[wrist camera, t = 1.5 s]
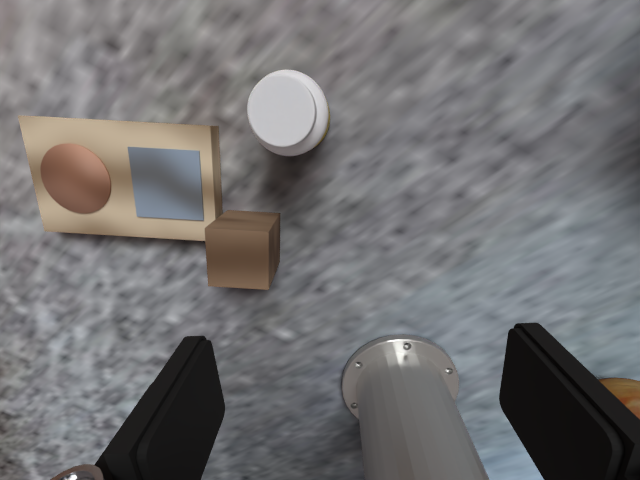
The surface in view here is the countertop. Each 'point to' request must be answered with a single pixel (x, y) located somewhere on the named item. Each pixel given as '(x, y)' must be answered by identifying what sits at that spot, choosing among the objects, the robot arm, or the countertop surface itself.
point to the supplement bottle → (288, 113)
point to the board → (124, 176)
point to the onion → (625, 392)
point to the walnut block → (243, 249)
